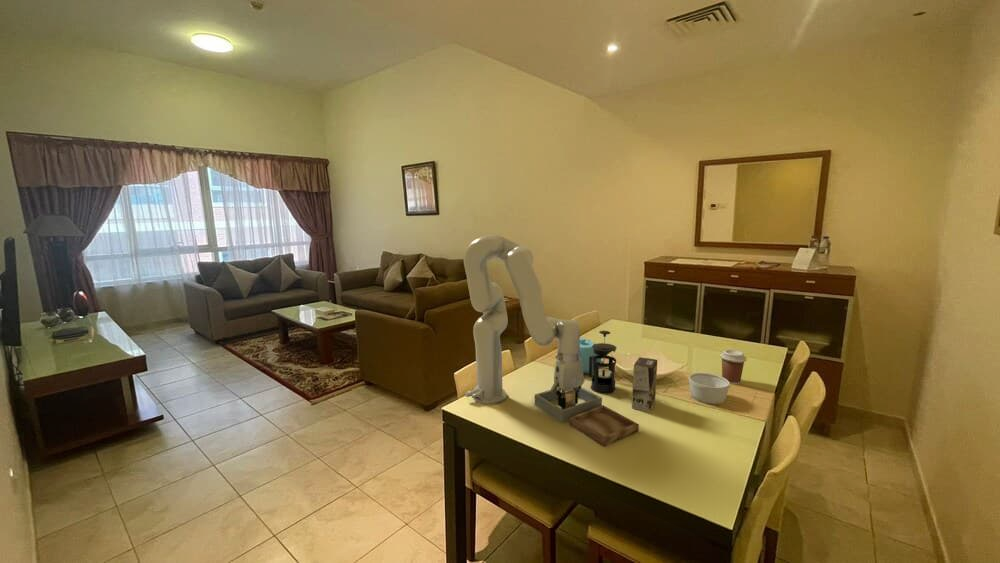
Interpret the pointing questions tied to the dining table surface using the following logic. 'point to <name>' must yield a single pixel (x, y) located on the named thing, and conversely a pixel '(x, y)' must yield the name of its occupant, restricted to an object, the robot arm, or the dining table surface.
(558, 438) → the dining table surface
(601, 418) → the walnut tray
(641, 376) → the coffee box
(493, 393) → the robot arm
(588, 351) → the decorative pot
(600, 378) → the french press
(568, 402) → the maple spool
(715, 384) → the ramekin
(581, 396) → the gray square frame
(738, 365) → the coffee cup
